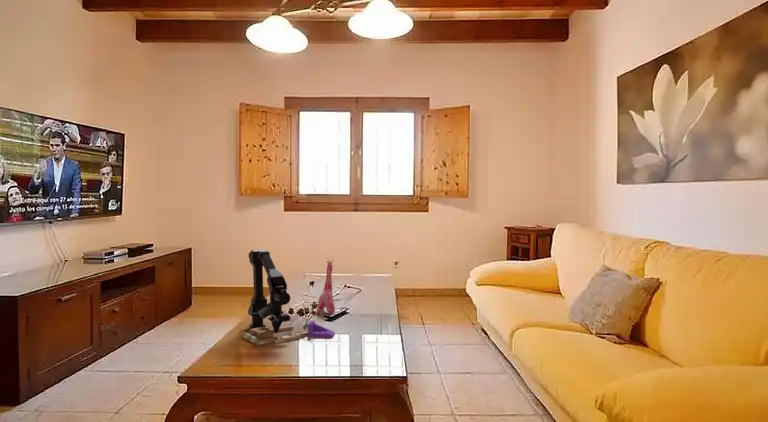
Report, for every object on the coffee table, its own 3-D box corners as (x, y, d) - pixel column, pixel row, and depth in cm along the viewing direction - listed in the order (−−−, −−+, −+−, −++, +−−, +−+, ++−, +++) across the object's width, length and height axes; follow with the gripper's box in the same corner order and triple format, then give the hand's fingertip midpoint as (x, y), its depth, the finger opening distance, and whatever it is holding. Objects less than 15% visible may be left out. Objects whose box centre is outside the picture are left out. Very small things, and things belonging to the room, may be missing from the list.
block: (250, 338, 279) (250, 328, 279) (263, 335, 284) (263, 326, 283) (259, 342, 271) (259, 333, 271) (273, 340, 276) (273, 331, 276)
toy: (337, 307, 347) (338, 257, 346) (329, 317, 322) (329, 263, 320) (323, 307, 348) (324, 257, 346) (314, 317, 322) (314, 263, 321)
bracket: (307, 337, 281) (307, 323, 281) (310, 334, 288) (310, 320, 287) (332, 338, 280) (332, 324, 280) (334, 335, 287) (334, 321, 287)
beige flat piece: (241, 337, 280) (241, 331, 280) (292, 328, 297) (292, 323, 297) (260, 346, 265) (260, 340, 265) (311, 336, 282) (311, 331, 282)
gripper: (252, 299, 283) (252, 331, 284) (269, 306, 269) (269, 339, 270) (272, 296, 290) (272, 327, 291) (290, 303, 276) (290, 335, 276)
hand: (275, 332), depth 282 cm, fingers closed
